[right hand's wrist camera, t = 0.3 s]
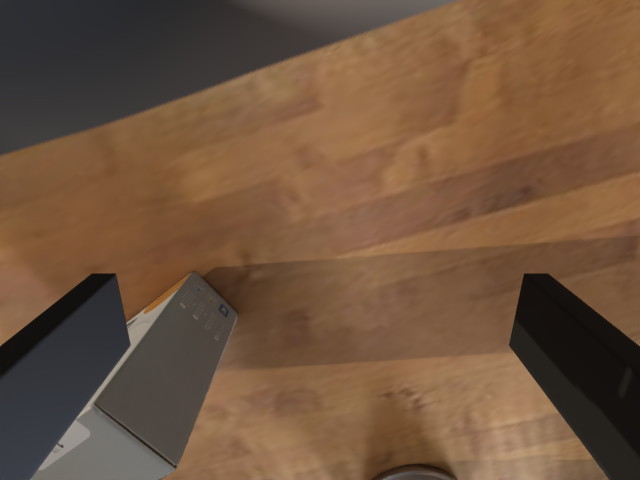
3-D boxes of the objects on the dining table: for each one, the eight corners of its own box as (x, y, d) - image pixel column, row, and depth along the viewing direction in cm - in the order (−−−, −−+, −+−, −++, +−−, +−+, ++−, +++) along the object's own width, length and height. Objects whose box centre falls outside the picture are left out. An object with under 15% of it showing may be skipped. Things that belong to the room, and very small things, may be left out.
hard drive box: (194, 267, 43) (96, 402, 24) (240, 314, 45) (184, 471, 26) (101, 340, 46) (-47, 507, 27) (149, 380, 48) (41, 561, 30)
